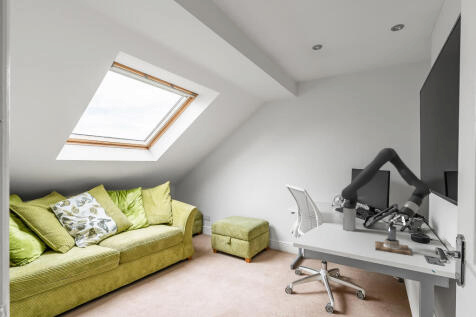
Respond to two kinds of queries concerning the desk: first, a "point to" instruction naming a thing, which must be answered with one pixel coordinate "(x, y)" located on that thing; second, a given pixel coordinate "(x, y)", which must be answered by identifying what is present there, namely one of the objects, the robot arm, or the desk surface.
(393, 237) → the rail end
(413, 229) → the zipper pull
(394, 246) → the cup bracket
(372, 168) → the robot arm
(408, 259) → the desk surface
